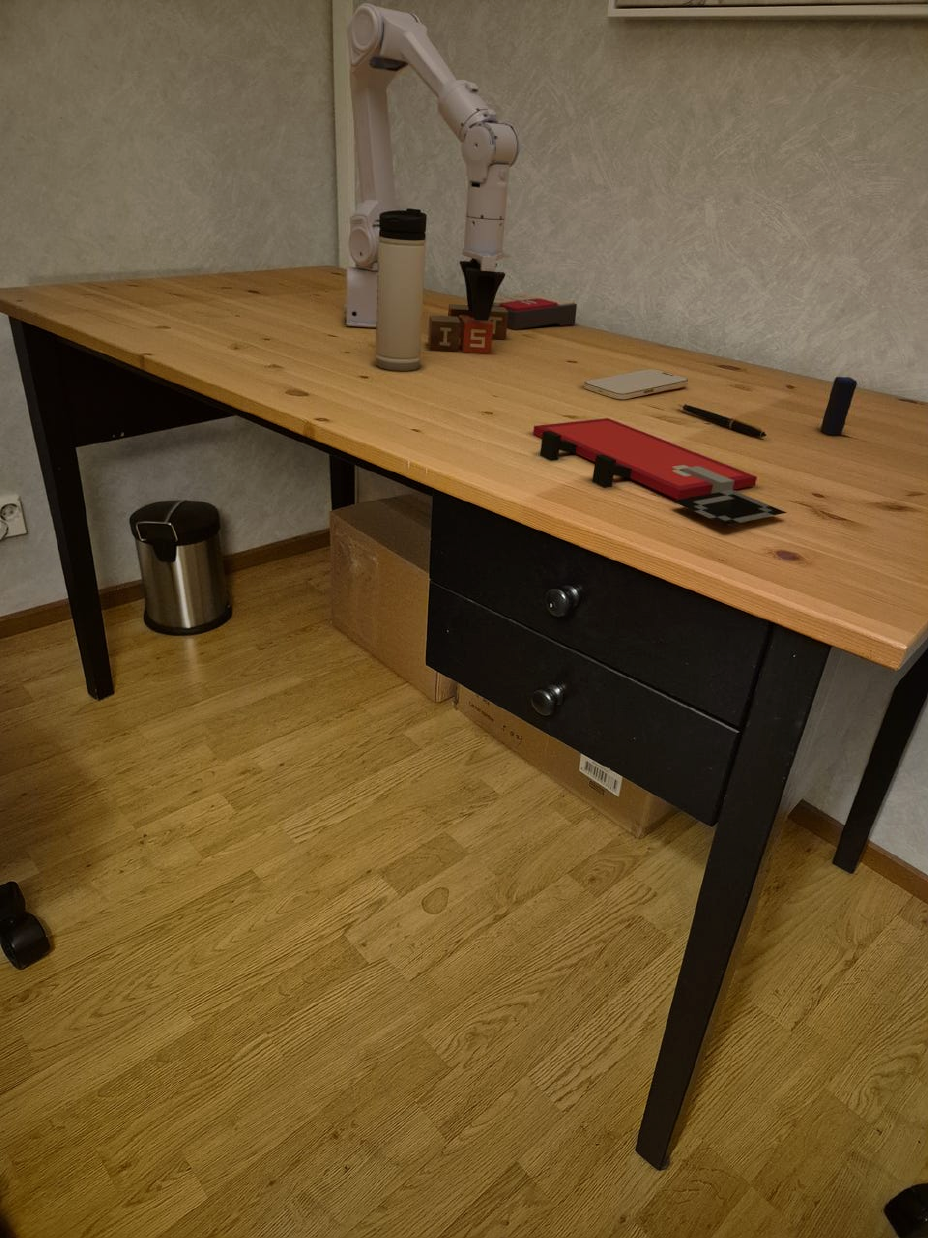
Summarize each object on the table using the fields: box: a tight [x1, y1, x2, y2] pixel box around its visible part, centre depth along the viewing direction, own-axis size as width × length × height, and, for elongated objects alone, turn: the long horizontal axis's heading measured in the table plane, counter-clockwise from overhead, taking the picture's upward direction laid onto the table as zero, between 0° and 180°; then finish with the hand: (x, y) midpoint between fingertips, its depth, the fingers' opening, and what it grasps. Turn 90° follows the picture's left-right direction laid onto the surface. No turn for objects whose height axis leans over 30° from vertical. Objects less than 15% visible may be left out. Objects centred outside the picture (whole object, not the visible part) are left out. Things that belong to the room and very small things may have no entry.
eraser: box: [820, 376, 858, 437], centre depth 106 cm, size 2×2×7 cm
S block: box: [459, 317, 493, 355], centre depth 133 cm, size 4×4×4 cm
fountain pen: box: [676, 403, 767, 438], centre depth 107 cm, size 14×1×2 cm, turn 36°
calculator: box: [492, 292, 578, 330], centre depth 157 cm, size 11×4×15 cm
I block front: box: [427, 314, 461, 353], centre depth 133 cm, size 4×4×4 cm
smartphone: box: [583, 368, 689, 400], centre depth 120 cm, size 7×1×15 cm
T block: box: [489, 307, 508, 341], centre depth 143 cm, size 4×4×4 cm
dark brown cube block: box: [447, 303, 474, 334], centre depth 143 cm, size 4×4×4 cm
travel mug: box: [374, 207, 428, 372], centre depth 117 cm, size 6×7×20 cm
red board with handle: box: [532, 417, 788, 527], centre depth 89 cm, size 30×3×15 cm
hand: (478, 315), depth 132 cm, fingers open, 7 cm apart
